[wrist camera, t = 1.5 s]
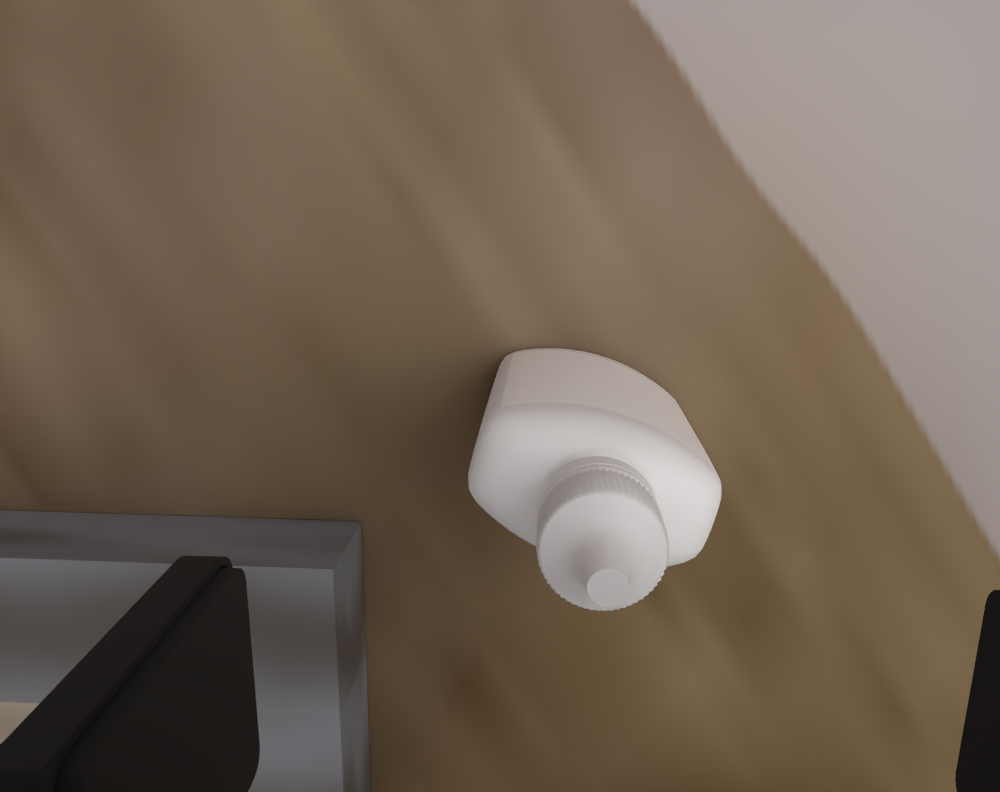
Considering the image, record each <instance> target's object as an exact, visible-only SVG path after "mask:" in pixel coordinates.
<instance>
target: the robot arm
mask: <svg viewBox="0 0 1000 792" xmlns="http://www.w3.org/2000/svg"><path fill="white" fill-rule="evenodd" d="M259 756H260V741H259V729H258V717H257V705H256V693H255V681H254V669H253V657H252V645H251V632H250V620H249V608H248V596H247V584H246V577H245V573H244V571H243V570H242V569H241V568H233V566H232V564H231V561H230V559H229V558H228V557H219V556H183V555H182V556H181V557H179V558H178V559H177V560H176V561H175V562H174V563H173V564H172V565H171V566H170V567H169V568H168V569H167V571H166V572H165V573H164V574H163V575H162V576H161V577H160V578H159V579H158V580H157V581H156V582H155V583H154V584H153V585H152V586H151V587H150V588H149V589H148V590H147V591H146V593H145V594H144V595H143V596H142V597H141V598H140V599H139V600H138V601H137V602H136V603H135V604H134V605H133V606H132V607H131V608H130V609H129V610H128V611H127V612H126V613H125V615H124V616H123V617H122V618H121V619H120V620H119V621H118V622H117V623H116V624H115V625H114V626H113V627H112V628H111V629H110V630H109V631H108V632H107V633H106V634H105V635H104V637H103V638H102V639H101V640H100V641H99V642H98V643H97V644H96V645H95V646H94V647H93V648H92V649H91V650H90V651H89V652H88V653H87V654H86V655H85V656H84V657H83V659H82V660H81V661H80V662H79V663H78V664H77V665H76V666H75V667H74V668H73V669H72V670H71V671H70V672H69V673H68V674H67V675H66V676H65V677H64V678H63V679H62V681H61V682H60V683H59V684H58V685H57V686H56V687H55V688H54V689H53V690H52V691H51V692H50V693H49V694H48V695H47V696H46V697H45V698H44V699H43V700H42V701H41V703H40V704H39V705H38V706H37V707H36V708H35V709H34V710H33V711H32V712H31V713H30V714H29V715H28V716H27V717H26V718H25V719H24V720H23V721H22V722H21V723H20V725H19V726H18V727H17V728H16V729H15V730H14V731H13V732H12V733H11V734H10V735H9V736H8V737H7V738H6V739H5V740H4V741H3V742H2V743H1V744H0V792H248V791H249V789H250V786H251V784H252V782H253V780H254V778H255V775H256V772H257V768H258V763H259ZM956 788H957V792H1000V590H994V591H992V592H991V593H990V594H989V596H988V598H987V601H986V605H985V611H984V616H983V622H982V628H981V633H980V639H979V645H978V650H977V656H976V662H975V667H974V673H973V679H972V684H971V690H970V696H969V701H968V707H967V713H966V718H965V724H964V730H963V735H962V741H961V747H960V752H959V758H958V764H957V769H956Z"/></svg>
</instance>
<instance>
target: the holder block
mask: <svg viewBox="0 0 1000 792" xmlns="http://www.w3.org/2000/svg"><path fill="white" fill-rule="evenodd" d="M182 555H183V556H219V557H228V558H229V559H230V561H231V564H232V566H233V568H241V569H242V570H243V571H244V573H245V577H246V584H247V596H248V608H249V620H250V632H251V645H252V657H253V669H254V681H255V693H256V705H257V717H258V729H259V741H260V756H259V763H258V768H257V772H256V775H255V778H254V780H253V782H252V784H251V786H250V789H249V791H248V792H371V775H370V748H369V720H368V693H367V666H366V638H365V611H364V584H363V557H362V529H361V521H338V520H306V519H273V518H240V517H208V516H175V515H142V514H110V513H77V512H45V511H12V510H0V744H1V743H2V742H3V741H4V740H5V739H6V738H7V737H8V736H9V735H10V734H11V733H12V732H13V731H14V730H15V729H16V728H17V727H18V726H19V725H20V723H21V722H22V721H23V720H24V719H25V718H26V717H27V716H28V715H29V714H30V713H31V712H32V711H33V710H34V709H35V708H36V707H37V706H38V705H39V704H40V703H41V701H42V700H43V699H44V698H45V697H46V696H47V695H48V694H49V693H50V692H51V691H52V690H53V689H54V688H55V687H56V686H57V685H58V684H59V683H60V682H61V681H62V679H63V678H64V677H65V676H66V675H67V674H68V673H69V672H70V671H71V670H72V669H73V668H74V667H75V666H76V665H77V664H78V663H79V662H80V661H81V660H82V659H83V657H84V656H85V655H86V654H87V653H88V652H89V651H90V650H91V649H92V648H93V647H94V646H95V645H96V644H97V643H98V642H99V641H100V640H101V639H102V638H103V637H104V635H105V634H106V633H107V632H108V631H109V630H110V629H111V628H112V627H113V626H114V625H115V624H116V623H117V622H118V621H119V620H120V619H121V618H122V617H123V616H124V615H125V613H126V612H127V611H128V610H129V609H130V608H131V607H132V606H133V605H134V604H135V603H136V602H137V601H138V600H139V599H140V598H141V597H142V596H143V595H144V594H145V593H146V591H147V590H148V589H149V588H150V587H151V586H152V585H153V584H154V583H155V582H156V581H157V580H158V579H159V578H160V577H161V576H162V575H163V574H164V573H165V572H166V571H167V569H168V568H169V567H170V566H171V565H172V564H173V563H174V562H175V561H176V560H177V559H178V558H179V557H181V556H182Z"/></svg>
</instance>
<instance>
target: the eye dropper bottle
mask: <svg viewBox="0 0 1000 792" xmlns="http://www.w3.org/2000/svg"><path fill="white" fill-rule="evenodd" d="M468 482H469V491H470V493H471V494H472V496H473V498H474V499H475V501H476V502H477V503H478V504H479V505H480V506H481V507H482V508H483V509H484V510H485V511H486V512H487V513H488V514H489V515H490V516H492V517H493V518H494V519H495V520H496V521H498V522H499V523H500V524H502V525H503V526H504V527H505V528H507V529H508V530H509V531H511V532H513V533H514V534H516V535H517V536H519V537H520V538H522V539H524V540H525V541H527V542H529V543H530V544H532V545H534V546H536V547H537V548H536V553H537V560H538V561H539V564H538V566H539V567H540V568H541V573H543V578H545V579H546V580H547V584H549V585H551V589H553V590H555V593H557V594H559V595H560V597H561V598H565V599H566V601H568V602H571V604H574V605H577V606H578V607H583V608H584V609H590V610H597V611H600V610H603V611H607V610H610V611H612V610H614V609H617V610H619V609H620V608H626V606H631V605H632V604H633V603H638V601H639V600H641V599H643V598H644V596H647V595H649V592H651V591H653V588H654V587H655V586H657V582H659V581H660V580H661V576H663V575H664V570H665V569H666V568H667V567H666V566H672V565H676V564H681V563H684V562H686V561H688V560H690V559H692V558H695V557H696V555H697V554H698V553H699V552H700V551H701V550H702V548H703V546H704V544H705V542H706V540H707V538H708V536H709V533H710V531H711V528H712V526H713V523H714V520H715V517H716V514H717V511H718V508H719V504H720V501H721V488H722V486H721V481H720V479H719V477H718V475H717V473H716V471H715V469H714V467H713V465H712V463H711V461H710V459H709V457H708V455H707V454H706V452H705V450H704V448H703V447H702V445H701V443H700V441H699V440H698V438H697V436H696V434H695V433H694V431H693V429H692V428H691V426H690V424H689V422H688V421H687V419H686V417H685V416H684V414H683V412H682V411H681V409H680V407H679V406H678V404H677V402H676V401H675V399H674V398H673V397H672V396H671V395H670V394H669V393H668V392H666V391H665V390H664V389H663V388H661V387H660V386H659V385H658V384H656V383H655V382H653V381H652V380H651V379H649V378H648V377H646V376H644V375H643V374H641V373H639V372H638V371H636V370H634V369H632V368H630V367H628V366H626V365H624V364H622V363H620V362H617V361H615V360H612V359H610V358H607V357H603V356H600V355H597V354H593V353H589V352H584V351H578V350H571V349H561V348H537V349H526V350H521V351H515V352H513V353H511V354H509V355H507V356H505V358H504V359H503V361H502V362H501V364H500V365H499V368H498V371H497V374H496V377H495V381H494V384H493V387H492V390H491V393H490V397H489V400H488V403H487V407H486V410H485V413H484V417H483V420H482V423H481V427H480V430H479V434H478V437H477V440H476V444H475V447H474V451H473V455H472V459H471V463H470V468H469V472H468Z"/></svg>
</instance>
